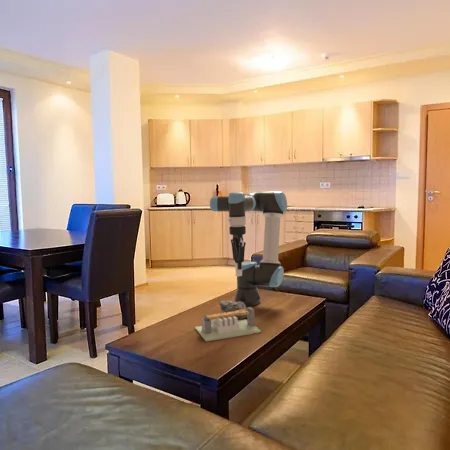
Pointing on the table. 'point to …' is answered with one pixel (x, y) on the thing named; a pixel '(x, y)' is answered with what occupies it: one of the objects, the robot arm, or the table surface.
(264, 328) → the table surface
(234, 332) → the heatsink board
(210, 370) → the table surface
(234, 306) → the rock
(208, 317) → the strap
